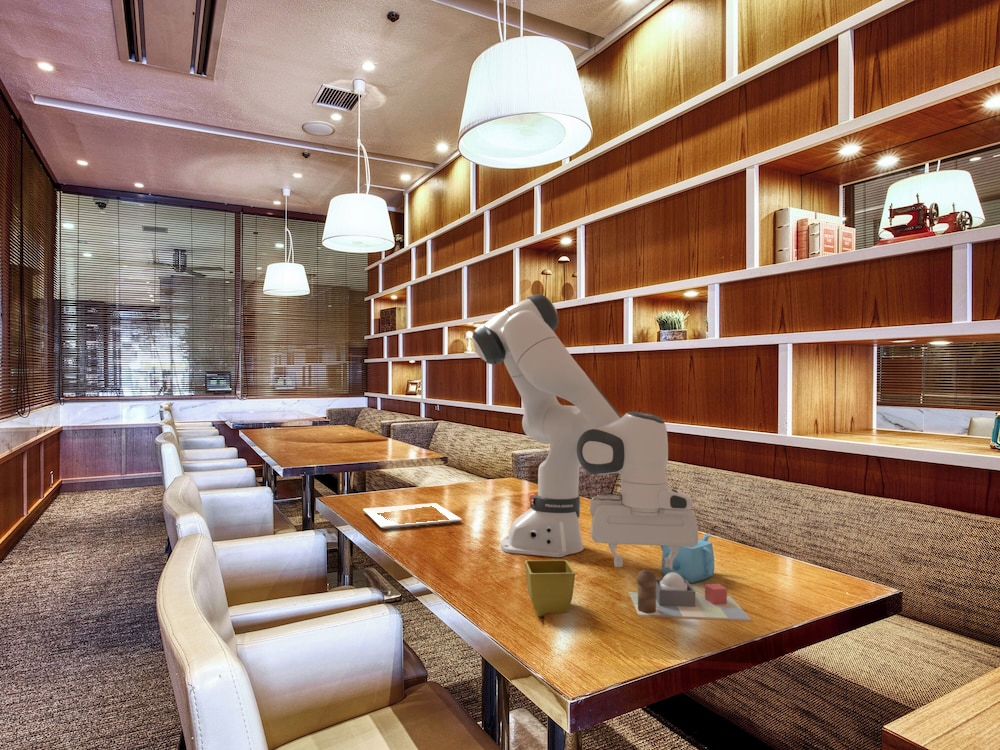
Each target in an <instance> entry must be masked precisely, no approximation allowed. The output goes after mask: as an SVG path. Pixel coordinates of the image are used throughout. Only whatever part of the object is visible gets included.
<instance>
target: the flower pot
mask: <svg viewBox="0 0 1000 750" xmlns="http://www.w3.org/2000/svg"><path fill="white" fill-rule="evenodd" d="M524 569H525V577H526V578H525V580H526V585H527V586H526V587H527V591H528V595H529V598H530V600H531V603H532V606H533V609H534V611H535V613H536V615H537V616H538V617H545V614H565V613H567V611H568V609H569V608H570V605H571V603H572V601H573V600H572V599H573V596H574V594H573V593H574V588H575V587H574V586H575V579H576V572H575V570H574V569H573V567H571V565H570V563H569V562H568V560H567V559H535V560H534V559H533V560H531V559H530V560H529V559H528V560H524Z"/></svg>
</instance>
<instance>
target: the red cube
mask: <svg viewBox="0 0 1000 750" xmlns="http://www.w3.org/2000/svg"><path fill="white" fill-rule="evenodd" d="M727 589H728V588H726V587H725V586H723V585H721V584H720V583H709V584H707V583H706V584H705V585H704V590H705V591H704V595H705V599H706V600H707V601H709V602H710V603H712V604H713V605H714V604H727V596H728V595H727V594H728V590H727Z"/></svg>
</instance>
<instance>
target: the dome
mask: <svg viewBox="0 0 1000 750" xmlns="http://www.w3.org/2000/svg"><path fill="white" fill-rule="evenodd" d="M662 579H663V580H661V581H660V588H661V589H662V590H686V591H687V584H686V583H685V582H684V580H683V578H682V577H681V576H680V575H679V574H677V573H674V572H671V573H668V574H666V575H664V576H663V577H662Z"/></svg>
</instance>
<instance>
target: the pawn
mask: <svg viewBox="0 0 1000 750" xmlns="http://www.w3.org/2000/svg"><path fill="white" fill-rule="evenodd" d="M657 579H658V578H657V576H656V574H655V573H654V572H653V571H652V570H650V569H642V570H640V571H639V572H638V573H637V575H636V584H637V592H638V610H639V611H641V612H644V613H654V612H655V611H656V583H657Z"/></svg>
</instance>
